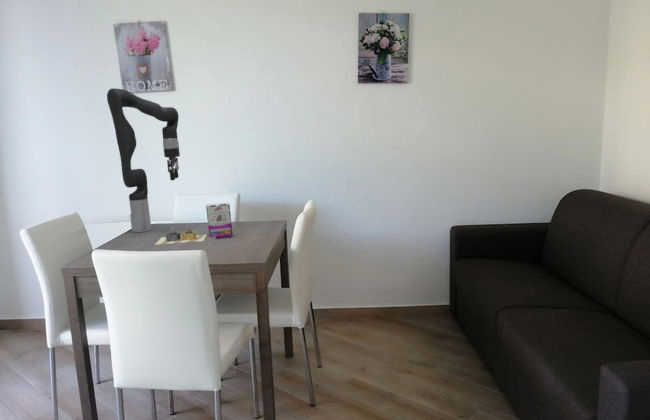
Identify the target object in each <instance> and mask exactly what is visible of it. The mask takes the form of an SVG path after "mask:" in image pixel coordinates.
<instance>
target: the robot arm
mask: <svg viewBox="0 0 650 420" xmlns="http://www.w3.org/2000/svg"><path fill="white" fill-rule="evenodd" d="M106 99H107V105H108V107H109V108H108V109H109V111H110V115H111V117H112V122H113V127H114V130H115V138H116V141H117V142H116V143H117V147H118V151H119V156H120V165H121V173H122V175H121V177H122V181H123V184H124V185H125V187H126V188H136V189H135V190H134V191H133V192H132V193H129V195H128V199H129V200H128V201H129V209H130V214H129V217H130V225H131V232H132V233H142V232H148V231H151V230H152V224H151V223H152V222H151V215H150V214H151V213H150V207H149V206H150V205H149V199H148V198H149V197H148V193H149V192H148V177H147V174H146V171H145V170H144V169H143V168H135V169H132V157H133V155H134V153H135V150H136V148H137V139H136V134H135V130H134V128H133V126H132V125H131V124H130V122H129V121H128V119H127V118H126V116H125V113H124V109H123V108H133V109H136V110H138V111H139V112H140V113H142V114H145V115H146V116H150V117H153V118H155V119H156V120H158V121H160V122H166V126H163V127H162V129H161V133H162V147H163V154H164V155H163V156H164V157H165V158H168V159H167V160H166V162H167V172H168V173H169V178H170V179H169V180H170V181H175V180H176V179H178V178H179V169H180V166H179V159H178V157H181V156H180V155H181V154H180V144H179V140H178V139H179V138H178V131H177V130H178V126H179V124H178V123H179V112H178V110H177V108H175V107H173V106H171V107H169V106H161V105H160V104H159V103H156V102H154V101H152V100H148V99H144V98H141V97H139V96H137V95H135V94H134V93H132V92H130V91H129V90H126V89H123V88H116V87H115V88H114V87H113V88H112V87H111V88H109V90H108V91H107V93H106Z"/></svg>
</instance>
